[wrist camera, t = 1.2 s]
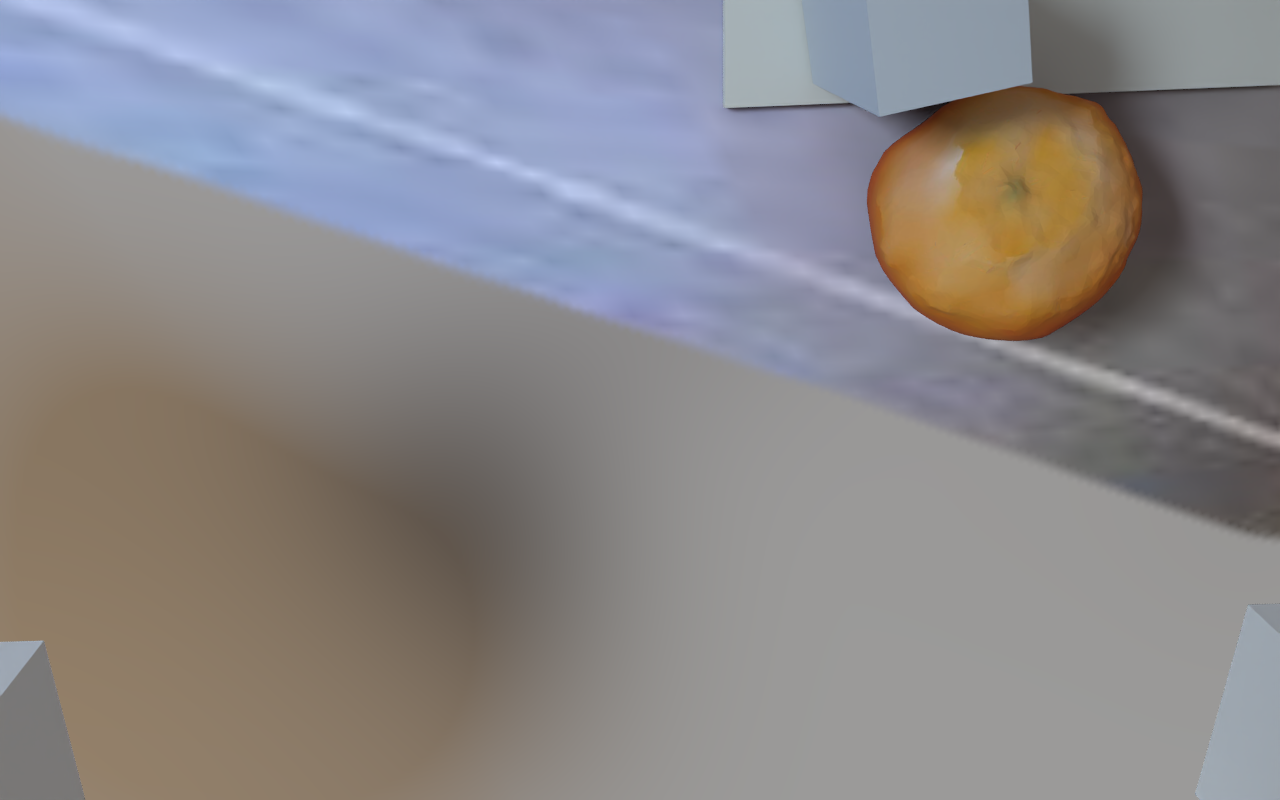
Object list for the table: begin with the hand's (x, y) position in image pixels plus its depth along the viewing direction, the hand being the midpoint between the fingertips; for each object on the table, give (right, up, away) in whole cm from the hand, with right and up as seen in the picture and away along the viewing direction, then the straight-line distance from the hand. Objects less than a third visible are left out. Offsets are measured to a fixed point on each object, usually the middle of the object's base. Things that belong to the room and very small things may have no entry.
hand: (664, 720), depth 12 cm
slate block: (+7, +16, +21) cm, 28 cm away
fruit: (+11, +11, +25) cm, 29 cm away
